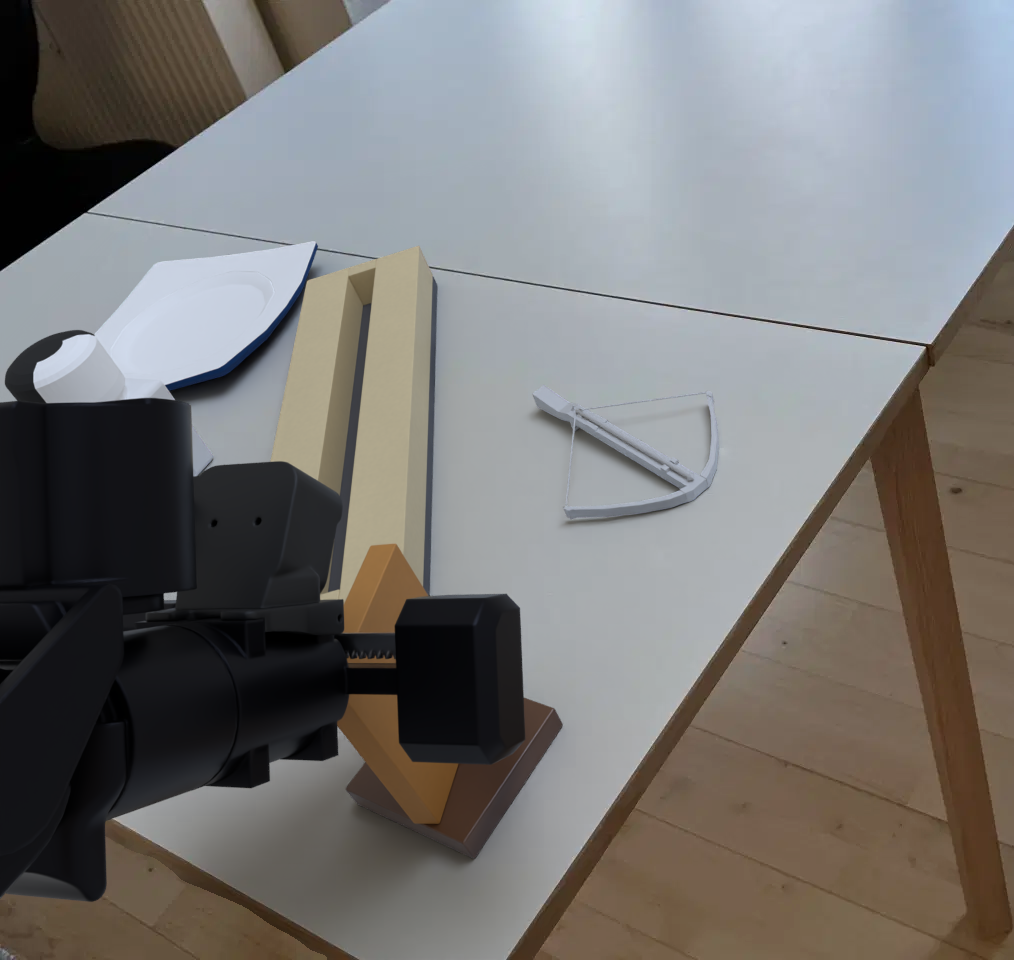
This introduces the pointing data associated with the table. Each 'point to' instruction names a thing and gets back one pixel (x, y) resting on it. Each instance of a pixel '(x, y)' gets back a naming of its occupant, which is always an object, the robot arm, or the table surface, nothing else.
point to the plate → (204, 313)
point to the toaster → (367, 407)
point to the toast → (376, 716)
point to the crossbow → (632, 456)
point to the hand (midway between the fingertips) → (409, 648)
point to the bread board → (470, 788)
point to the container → (83, 379)
